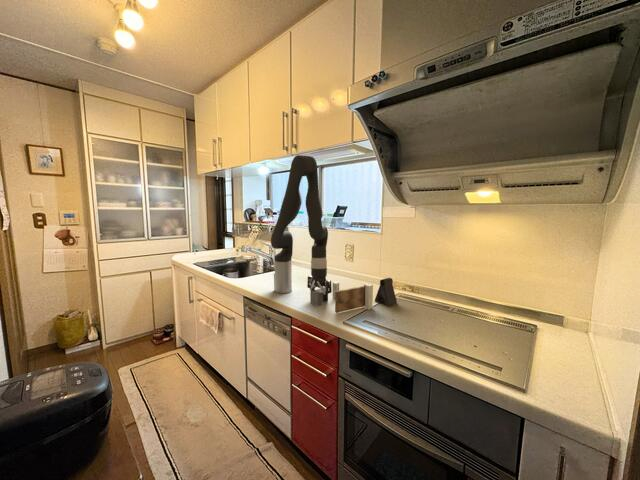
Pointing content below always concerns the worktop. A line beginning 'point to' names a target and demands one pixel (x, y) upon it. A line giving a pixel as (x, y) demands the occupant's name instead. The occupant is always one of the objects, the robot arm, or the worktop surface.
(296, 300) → the worktop surface
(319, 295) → the block
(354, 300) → the door
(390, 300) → the door stopper
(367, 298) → the hinge post
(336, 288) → the post
